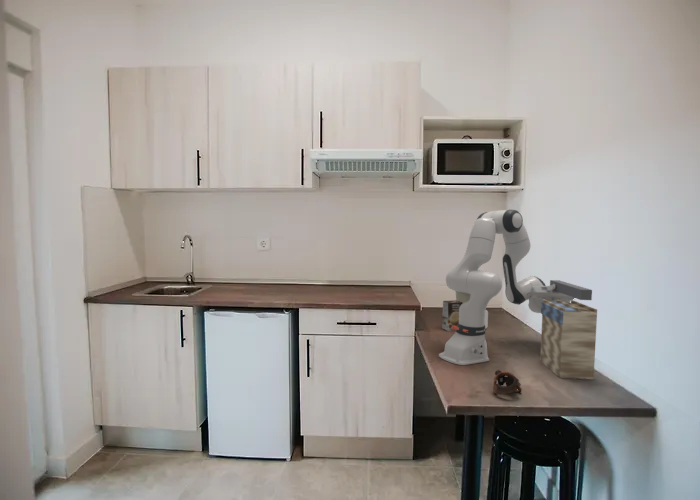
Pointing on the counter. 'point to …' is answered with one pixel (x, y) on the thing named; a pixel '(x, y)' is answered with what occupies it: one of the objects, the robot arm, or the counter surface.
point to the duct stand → (568, 338)
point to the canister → (462, 297)
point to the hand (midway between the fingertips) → (561, 285)
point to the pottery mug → (510, 381)
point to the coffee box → (450, 314)
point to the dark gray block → (572, 290)
